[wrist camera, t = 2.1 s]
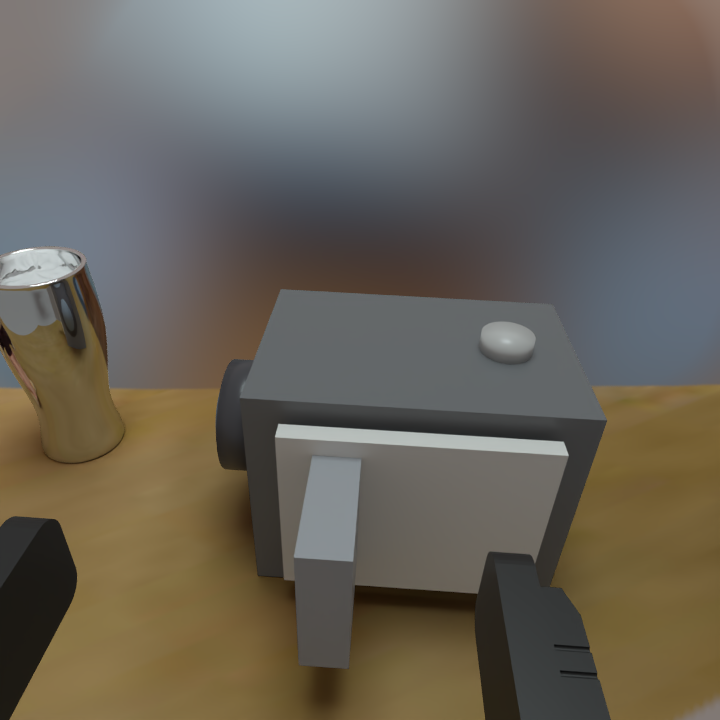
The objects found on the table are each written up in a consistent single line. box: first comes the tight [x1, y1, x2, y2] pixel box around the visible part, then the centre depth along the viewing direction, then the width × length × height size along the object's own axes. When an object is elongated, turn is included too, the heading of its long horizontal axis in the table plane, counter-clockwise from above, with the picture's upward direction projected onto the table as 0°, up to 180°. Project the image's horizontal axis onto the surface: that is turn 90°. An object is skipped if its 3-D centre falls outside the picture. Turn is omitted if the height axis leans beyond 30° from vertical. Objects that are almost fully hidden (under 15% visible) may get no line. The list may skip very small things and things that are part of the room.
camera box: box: [216, 289, 607, 587], centre depth 37 cm, size 21×12×15 cm, turn 87°
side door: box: [275, 424, 569, 669], centre depth 29 cm, size 14×7×11 cm, turn 87°
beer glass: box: [0, 246, 125, 463], centre depth 42 cm, size 7×7×15 cm
